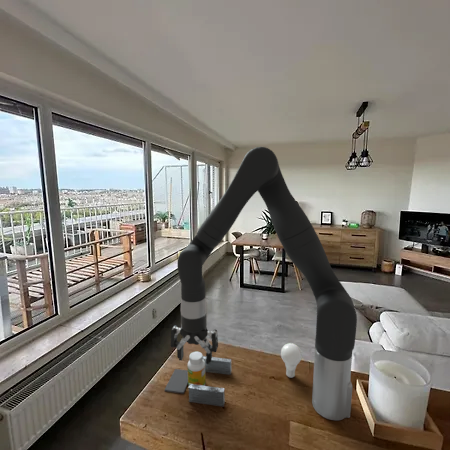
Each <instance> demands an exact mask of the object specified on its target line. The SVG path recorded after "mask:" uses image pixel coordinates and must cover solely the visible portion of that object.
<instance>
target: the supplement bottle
mask: <svg viewBox="0 0 450 450" xmlns="http://www.w3.org/2000/svg"><path fill="white" fill-rule="evenodd" d="M203 356H204V355H203V353H202V352H200V351H192V352H191V353H190V354H189V356H188V357H189V358H188V359H189V360H188V362H187V370H188V385H187V386H188V387H189V386H190V384H195V385H203V386H206V372H205V361H204V360H203Z"/></svg>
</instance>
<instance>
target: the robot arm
mask: <svg viewBox="0 0 450 450" xmlns="http://www.w3.org/2000/svg"><path fill="white" fill-rule="evenodd" d="M257 192H258V194H259V195H260V197H261V198H262V200H263V203H264V204H265V206H266V208H267V211H268V214H269V218H270V220H271V223H272V226H273V228H274V231H275V233H276V235H277V238H278V240H279V242H280V244H281V245H282V248H283V251H285V253H286V255H287V256H288V258H289V259H290V261H291V262H292V263H293V265H294V266H295V267H296V268H297V269H298V270H299V271H300V272H301V274H302V275H303V276H304V277H305V279H306V281H307V283H308V284H309V287H310V290H311V291H312V294H313V296H314V299H315V302H316V325H315V326H316V327H315V339H314V358H313V359H314V360H313V361H314V362H313V379H312V396H311V398H312V399H311V403H312V407H313V408H314V410H315V412H316V413H317V414H319V415H320V416H321V417H323V418H325V419H327V420H331V421H341V420H343V419H347V418H350V417H351V411H352V395H353V384H352V381H351V375H352V361H353V360H352V359H353V351H354V349H355V345H356V334H357V324H358V317H357V316H358V314H357V311H356V308H355V305H354V302H353V299H352V297H351V295H350V294H349V293H348V291H347V290H346V288H345V287H344V286H343V284H342V283H341V281H340V280H339V278H338V276H337V275H336V274H335V271H334V270H333V269H332V267H331V264H330V262H329V258H328V256H327V254H326V251H325V249H324V246H323V245H322V242H321V240H320V237H319V236H318V234H317V232H316V230H315V228H314V226H313V225H312V223H311V221H310V219H309V217H308V216H307V215H306V212H305V211H304V210H303V208H302V207H301V205H300V203H298V202H297V200H296V199H295V198H294V196H293V195H292V193H291V191H290V189H289V188H288V185H287V183H286V180H285V178H284V175H283V174H282V171H281V168H280V164H279V161H278V158H277V156H276V153H275V152H274V151H273V150H272V149H270V148H269V147H266V146H257V147H256V146H255V147H254V148H252V149H250V150H249V151H247V153H246V154H245V155H244V157H243V159H242V161H241V163H240V165H239V167H238V169H237V171H236V173H235V175H234V177H233V179H232V180H231V182H230V184H229V186H228V187H227V189H226V190H225V192H224V194H223V195H222V196H221V198H220V199H219V200H218V202H217V203H216V204H215V206H214V207H213V209H211V210H212V211H211V212H210V213H209V214H208V215H207V217H205V219H204V221H203V222H202V223H201V225H200V227H199V228H198V230H197V232H196V235H194V237H193V239H192V240H191V241H190V242H189V244H188V245H187V246H186V247H184V249H182V251H181V252H180V253H179V255H178V257H177V272H178V276H179V281H180V290H181V292H180V293H181V296H180V297H181V300H180V301H181V302H180V309H179V310H180V327H178V325H173V327H172V328H171V330H170V347H171V348H175V349H176V356H177V359H178V361H183V359H184V354H185V353H184V346H185V344H186V343H187V344H188V345H196V346H200V347H201V348H202V349H204V351H205V356H206V364H209V362H211V359H212V357H213V353H216V352H217V351H218V348H219V339H218V338H219V336H218V330H217V329H216V328H215V329H213V330H209V329H208V327H207V299H206V281H205V278H203V265H204V264H205V262H206V261H207V260H208V259H209V256H210V255H211V254H212V252H213V251H214V250H215V248H216V247H217V246H218V245H219V244H220V242H221V241H222V240H223V239H224V238H225V236H226V235H227V234H228V232H229V231H230V229H231V228H232V227H233V225H234V224H235V222H236V221H237V219H238V217H239V216H240V214H241V213H242V210H244V207H245V206H246V205H247V203H248V202H249V201H250V199H251V198H252V197H253V196H254V195H255V194H256V193H257ZM221 243H222V242H221ZM179 334H180V335H181V336H182V338H181V339H180V340H178V335H179ZM208 337H209V339H210V340H211V343H210V341H209V339H208Z"/></svg>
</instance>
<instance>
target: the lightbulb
mask: <svg viewBox="0 0 450 450" xmlns="http://www.w3.org/2000/svg"><path fill="white" fill-rule="evenodd" d="M280 357H281V359H282V361H283V363H284V365H285V368H286V370H285V375H286V376H287V377H288V378H294V377H295V376H296V368H297V366H298V364H300V362H301V360H302V357H303V355H302V351H301V348H300V347H299V346H298V345H296V343H292V342H289V343H286V344H284V345H283V346H282V347H281V349H280Z"/></svg>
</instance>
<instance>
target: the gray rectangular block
mask: <svg viewBox="0 0 450 450" xmlns="http://www.w3.org/2000/svg"><path fill="white" fill-rule="evenodd" d="M187 386H189V385H188V369H178V368H175V369H174V370H173V372H172V374H171V376H170V378H169V380H168V381H167V384H166V386H165V387H164V392H169V393H175V394H181V395H182V394H183V395H184V394H185V392H186V389H187Z"/></svg>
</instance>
